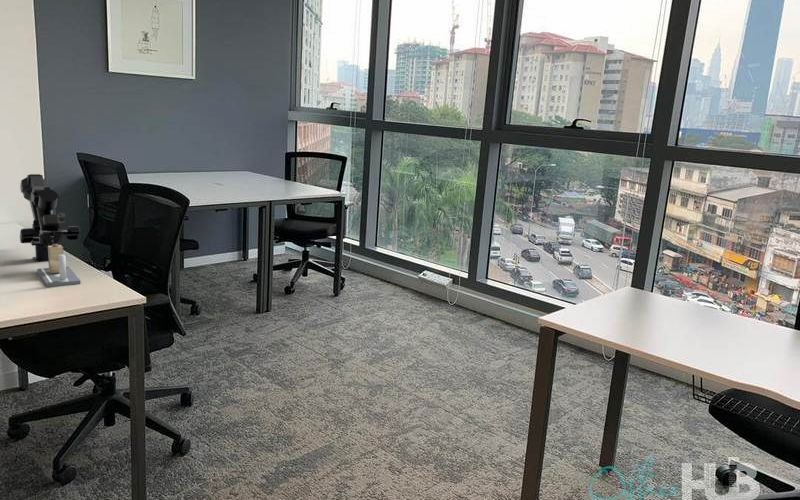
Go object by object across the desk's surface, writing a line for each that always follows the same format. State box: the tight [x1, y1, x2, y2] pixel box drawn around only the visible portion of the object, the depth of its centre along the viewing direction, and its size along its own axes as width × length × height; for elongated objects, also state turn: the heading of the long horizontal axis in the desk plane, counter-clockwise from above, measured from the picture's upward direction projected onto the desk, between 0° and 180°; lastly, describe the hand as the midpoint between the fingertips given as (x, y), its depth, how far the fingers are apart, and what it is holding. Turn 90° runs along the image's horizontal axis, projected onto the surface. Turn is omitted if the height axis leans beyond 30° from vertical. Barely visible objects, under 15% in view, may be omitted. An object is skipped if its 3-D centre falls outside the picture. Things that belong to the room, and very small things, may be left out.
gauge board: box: [36, 253, 81, 288], centre depth 211 cm, size 20×10×10 cm, turn 38°
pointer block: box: [48, 244, 64, 273], centre depth 213 cm, size 4×4×10 cm
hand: (54, 254), depth 215 cm, fingers closed, pressing on pointer block
